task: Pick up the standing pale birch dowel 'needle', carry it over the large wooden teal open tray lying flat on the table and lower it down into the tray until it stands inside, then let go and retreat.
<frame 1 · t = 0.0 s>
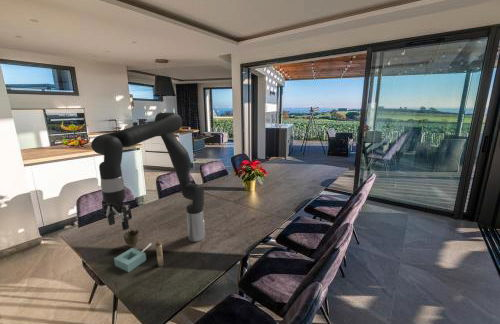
hand: (118, 226, 93), 29 cm above the table, fingers open, 8 cm apart
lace: (145, 249, 127), on the table
cup: (132, 246, 131), on the table
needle: (160, 264, 116), on the table
teal open tray: (130, 262, 117), on the table
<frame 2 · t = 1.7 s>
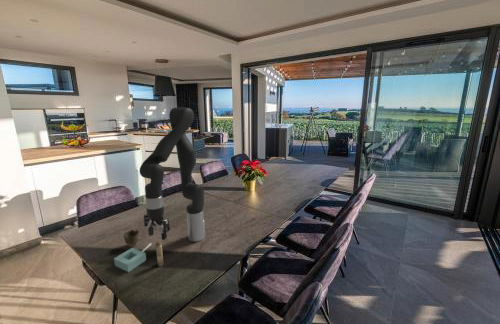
hand: (157, 237, 112), 15 cm above the table, fingers open, 8 cm apart
nothing on the table moved.
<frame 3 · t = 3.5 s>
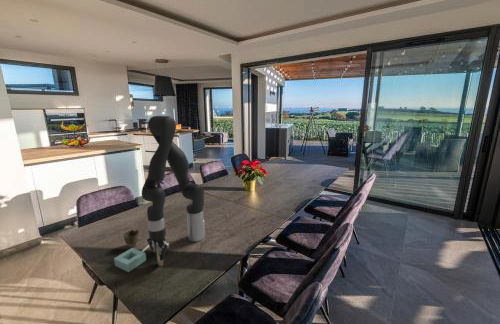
hand: (160, 258, 115), 3 cm above the table, fingers closed on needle, 2 cm apart
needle: (160, 264, 116), on the table, touching gripper
everything else where it was.
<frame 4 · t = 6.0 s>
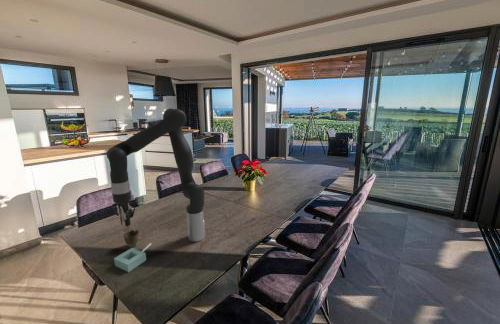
hand: (125, 224, 112), 21 cm above the table, fingers closed on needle, 2 cm apart
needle: (126, 230, 112), point 18 cm above the table, touching gripper
everything else where it was.
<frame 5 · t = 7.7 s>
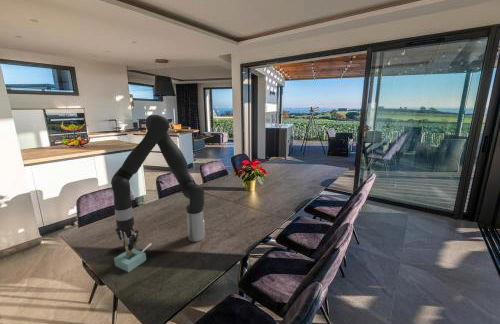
hand: (128, 248, 115), 8 cm above the table, fingers closed on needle, 2 cm apart
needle: (129, 254, 115), point 5 cm above the table, touching gripper
everything else where it was.
when the fingers open (5 cm above the table, at t = 8.9 s): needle drops 2 cm, resting in teal open tray.
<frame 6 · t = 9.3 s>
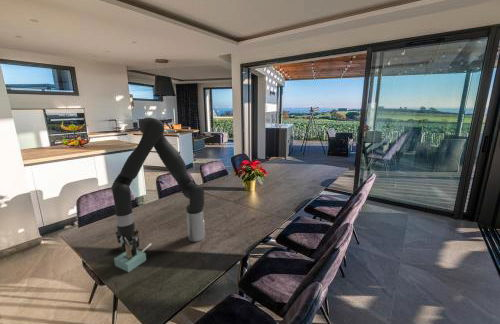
hand: (129, 252, 115), 6 cm above the table, fingers open, 6 cm apart
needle: (130, 262, 117), resting in teal open tray
everything else where it was.
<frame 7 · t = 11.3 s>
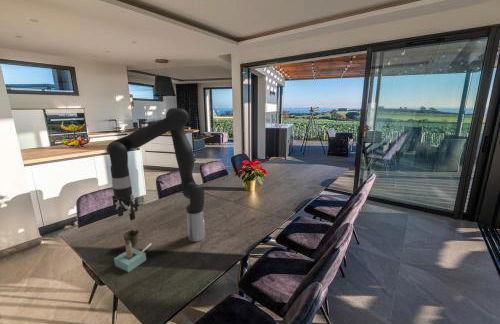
hand: (126, 217, 111), 24 cm above the table, fingers open, 8 cm apart
nothing on the table moved.
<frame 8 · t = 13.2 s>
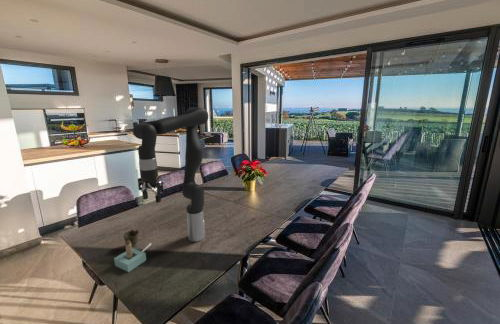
hand: (151, 200, 112), 32 cm above the table, fingers open, 8 cm apart
nothing on the table moved.
at the end: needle 0.1 cm off-centre on the teal open tray, point 0.0 cm above the teal open tray's base; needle tilted 0°; the gripper is holding nothing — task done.
